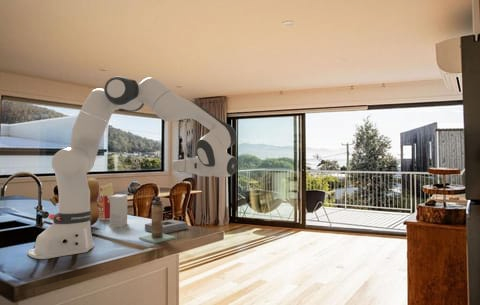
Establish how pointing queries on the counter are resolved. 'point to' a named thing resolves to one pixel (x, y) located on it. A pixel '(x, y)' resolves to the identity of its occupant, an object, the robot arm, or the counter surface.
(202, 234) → the counter surface
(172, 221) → the holder
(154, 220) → the pepper mill
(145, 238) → the plate
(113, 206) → the skincare box
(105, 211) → the milk carton
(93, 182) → the butternut squash
